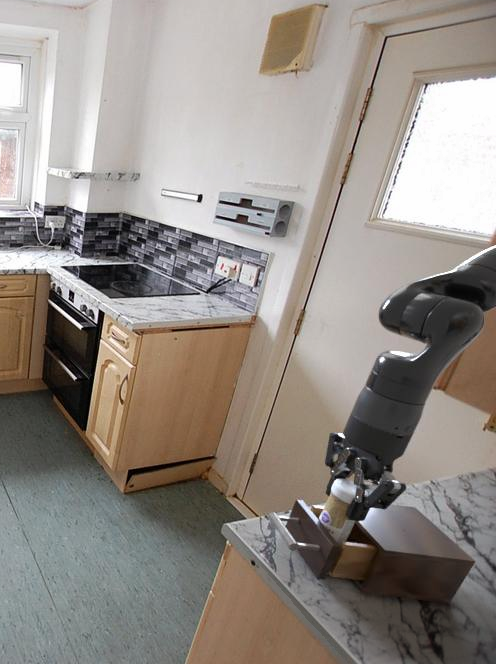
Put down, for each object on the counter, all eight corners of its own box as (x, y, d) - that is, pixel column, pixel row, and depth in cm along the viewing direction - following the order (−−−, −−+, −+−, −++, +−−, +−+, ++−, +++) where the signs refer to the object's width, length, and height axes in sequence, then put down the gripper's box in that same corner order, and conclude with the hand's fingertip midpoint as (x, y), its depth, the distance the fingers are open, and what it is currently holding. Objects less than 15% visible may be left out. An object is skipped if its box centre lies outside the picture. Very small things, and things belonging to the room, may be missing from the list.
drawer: (286, 575, 75) (301, 541, 72) (255, 527, 84) (267, 495, 82) (396, 589, 74) (415, 555, 71) (352, 539, 84) (367, 507, 81)
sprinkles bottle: (301, 540, 80) (327, 478, 76) (321, 537, 81) (348, 476, 77) (325, 562, 76) (354, 498, 71) (346, 558, 77) (376, 494, 73)
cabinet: (362, 592, 74) (384, 550, 71) (319, 536, 85) (336, 497, 82) (449, 603, 73) (475, 561, 70) (394, 546, 84) (415, 507, 81)
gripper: (328, 393, 76) (295, 476, 82) (393, 443, 63) (348, 538, 69) (374, 398, 76) (337, 481, 82) (449, 449, 63) (399, 544, 69)
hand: (342, 507), depth 75 cm, fingers closed on sprinkles bottle, 4 cm apart
